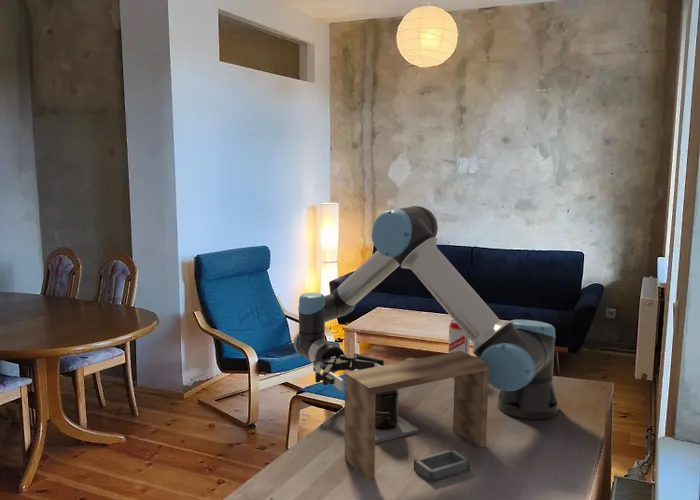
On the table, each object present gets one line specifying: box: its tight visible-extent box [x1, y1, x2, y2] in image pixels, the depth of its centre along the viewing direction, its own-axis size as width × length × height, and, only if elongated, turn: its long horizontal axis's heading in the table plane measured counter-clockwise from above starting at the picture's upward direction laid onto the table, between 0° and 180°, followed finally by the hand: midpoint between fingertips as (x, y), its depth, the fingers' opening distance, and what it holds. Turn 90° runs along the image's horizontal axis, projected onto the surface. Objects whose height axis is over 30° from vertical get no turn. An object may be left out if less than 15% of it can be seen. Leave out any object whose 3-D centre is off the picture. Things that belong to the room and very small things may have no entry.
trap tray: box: [413, 448, 471, 484], centre depth 130 cm, size 6×10×2 cm, turn 119°
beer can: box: [447, 319, 471, 355], centre depth 187 cm, size 6×6×16 cm
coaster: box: [375, 415, 419, 444], centre depth 150 cm, size 12×12×1 cm
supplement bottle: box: [375, 389, 399, 430], centre depth 150 cm, size 7×7×12 cm
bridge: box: [344, 351, 489, 480], centre depth 137 cm, size 10×31×20 cm, turn 119°
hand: (366, 380), depth 156 cm, fingers open, 13 cm apart
